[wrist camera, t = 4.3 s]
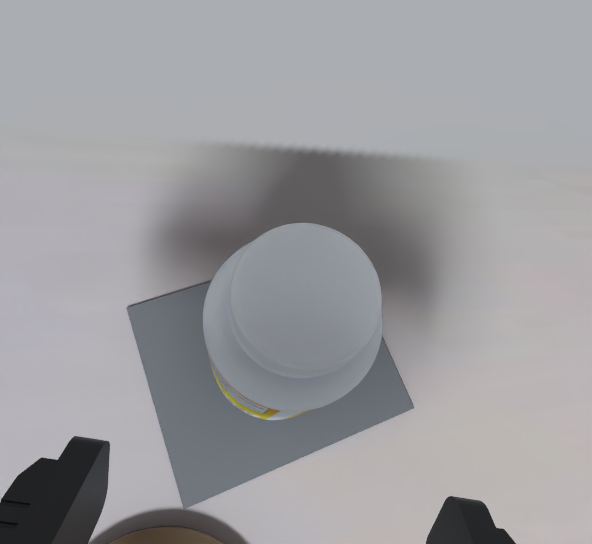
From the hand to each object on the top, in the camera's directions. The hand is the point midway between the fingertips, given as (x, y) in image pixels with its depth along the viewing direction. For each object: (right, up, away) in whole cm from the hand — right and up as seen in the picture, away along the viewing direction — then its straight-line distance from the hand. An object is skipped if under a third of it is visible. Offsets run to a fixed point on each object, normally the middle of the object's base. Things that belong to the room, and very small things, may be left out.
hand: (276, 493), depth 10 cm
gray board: (-1, +1, +10) cm, 11 cm away
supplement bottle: (-1, +1, +10) cm, 11 cm away
